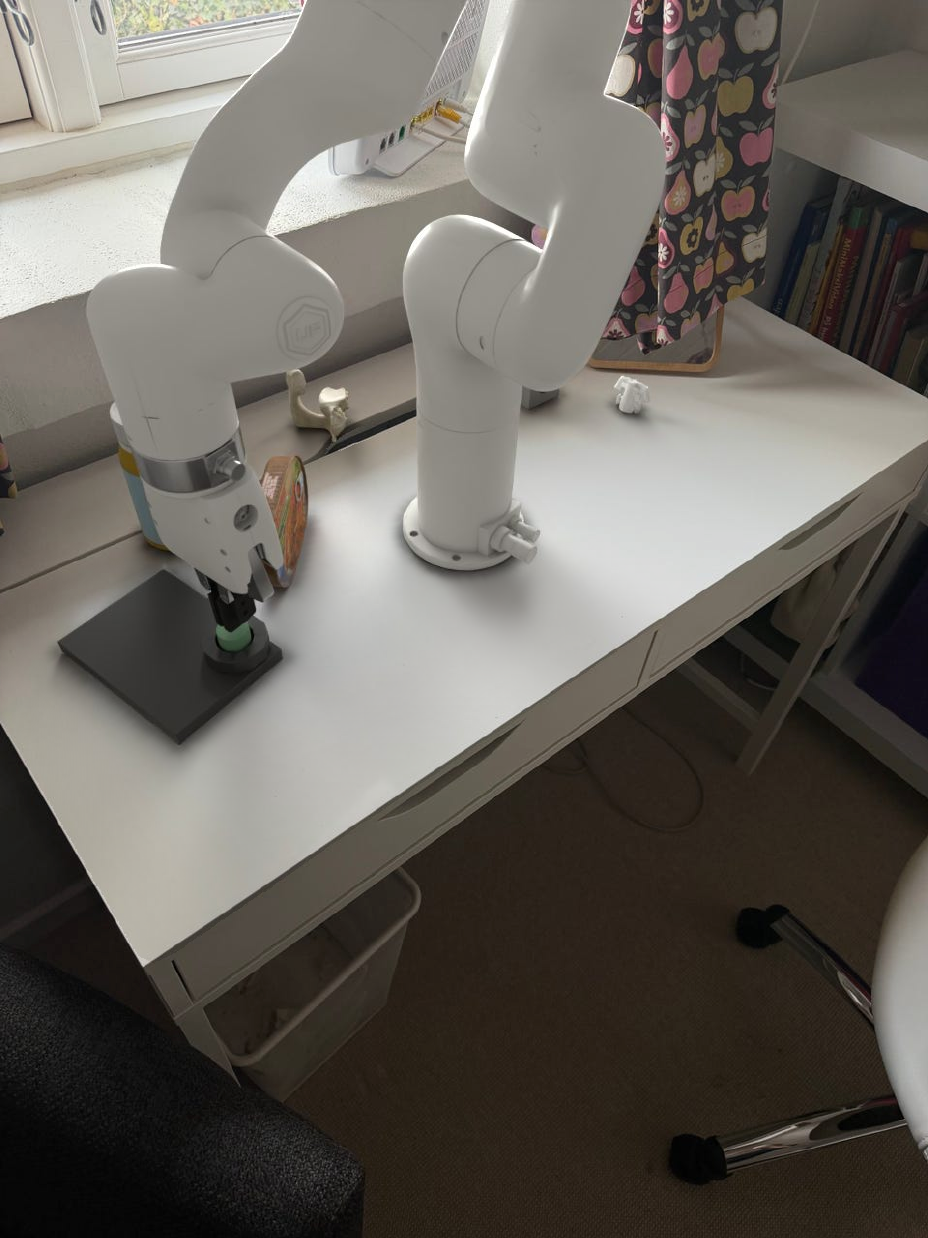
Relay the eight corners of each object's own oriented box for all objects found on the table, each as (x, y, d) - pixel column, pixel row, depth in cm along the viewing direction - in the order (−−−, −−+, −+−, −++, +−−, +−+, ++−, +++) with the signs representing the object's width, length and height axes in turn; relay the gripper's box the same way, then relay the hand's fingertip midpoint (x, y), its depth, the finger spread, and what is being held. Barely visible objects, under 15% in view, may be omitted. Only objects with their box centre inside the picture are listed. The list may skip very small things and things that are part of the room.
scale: (286, 656, 80) (282, 634, 78) (179, 745, 73) (171, 724, 71) (169, 576, 86) (163, 554, 84) (61, 651, 79) (50, 629, 77)
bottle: (198, 559, 88) (165, 435, 77) (133, 548, 88) (90, 424, 77) (225, 514, 92) (197, 391, 81) (162, 504, 93) (126, 380, 82)
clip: (648, 413, 107) (654, 386, 104) (640, 419, 106) (646, 392, 103) (614, 397, 109) (619, 370, 106) (605, 403, 108) (610, 376, 105)
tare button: (258, 638, 78) (255, 626, 77) (234, 657, 76) (231, 645, 75) (236, 623, 79) (233, 611, 78) (212, 641, 77) (209, 630, 76)
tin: (286, 606, 84) (274, 541, 78) (253, 604, 84) (239, 539, 78) (312, 502, 94) (304, 437, 88) (283, 501, 94) (272, 436, 88)
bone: (382, 414, 102) (341, 365, 93) (352, 459, 102) (308, 415, 93) (331, 390, 106) (287, 341, 97) (302, 433, 106) (255, 388, 97)
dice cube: (501, 390, 109) (503, 354, 105) (530, 376, 111) (534, 341, 108) (528, 409, 107) (531, 373, 103) (558, 395, 109) (562, 359, 105)
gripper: (303, 464, 61) (330, 633, 75) (162, 385, 67) (211, 556, 81) (221, 521, 57) (266, 689, 71) (79, 433, 63) (146, 604, 77)
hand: (237, 618), depth 76 cm, fingers closed
